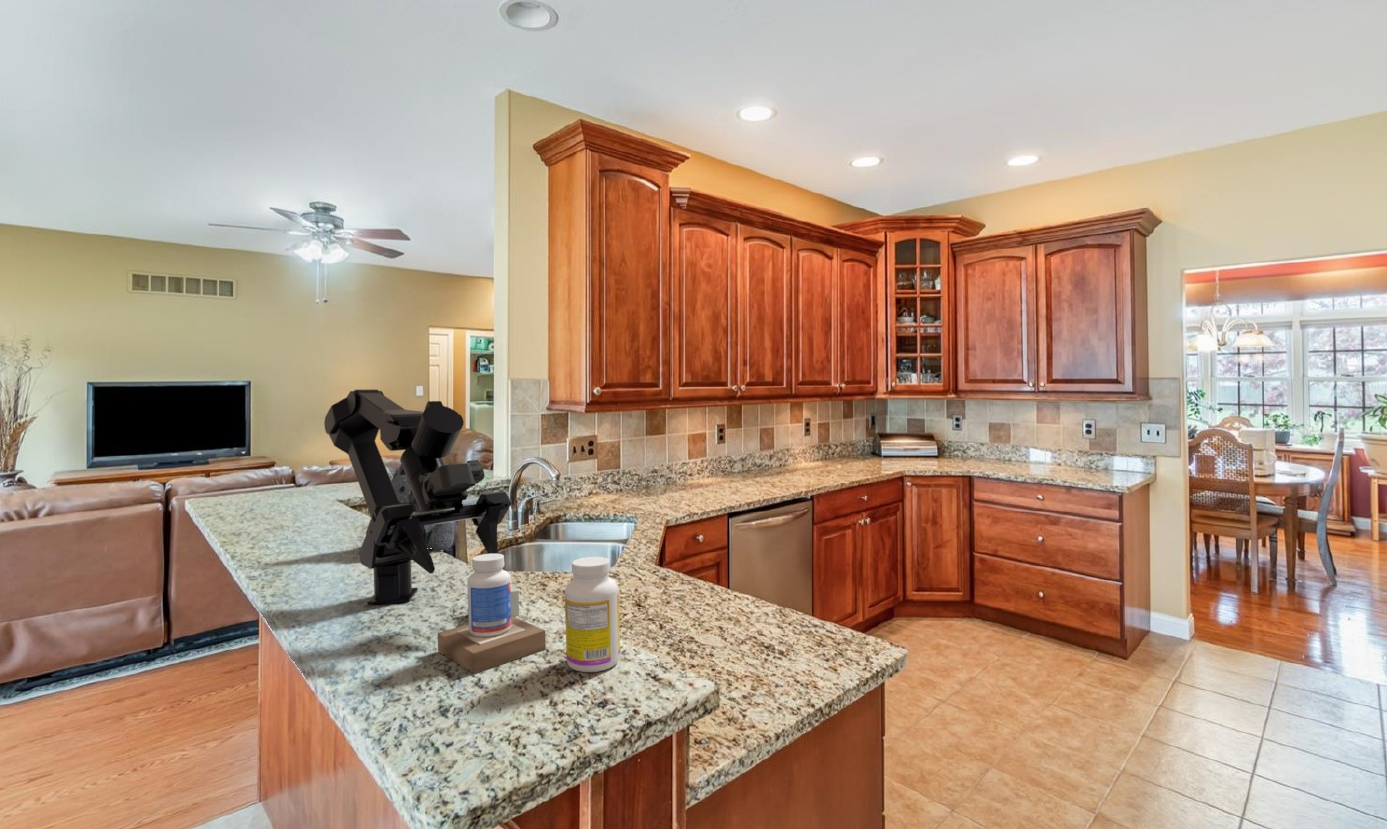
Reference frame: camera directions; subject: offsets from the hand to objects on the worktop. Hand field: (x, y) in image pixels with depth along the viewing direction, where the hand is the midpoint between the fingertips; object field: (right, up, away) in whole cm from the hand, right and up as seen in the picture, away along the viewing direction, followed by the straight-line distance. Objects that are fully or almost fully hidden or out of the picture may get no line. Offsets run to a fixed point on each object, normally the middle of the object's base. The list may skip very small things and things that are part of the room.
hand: (465, 564), depth 88 cm
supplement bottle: (+19, -10, -9) cm, 24 cm away
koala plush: (-33, -9, +55) cm, 65 cm away
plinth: (+5, -10, -5) cm, 12 cm away
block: (+2, -10, +10) cm, 14 cm away
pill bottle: (+5, -8, -5) cm, 10 cm away
